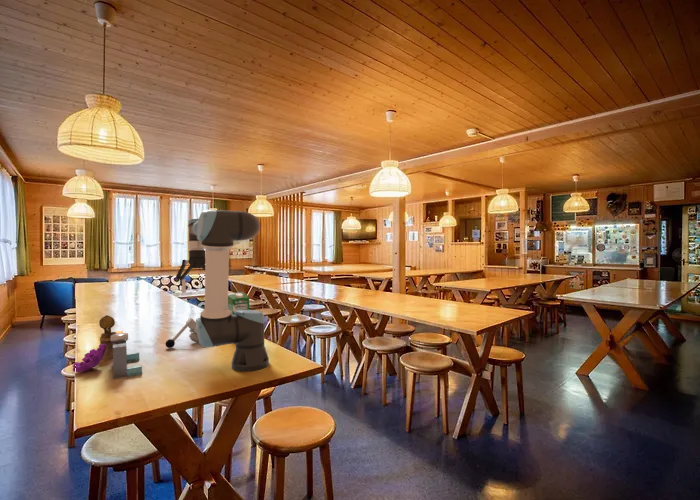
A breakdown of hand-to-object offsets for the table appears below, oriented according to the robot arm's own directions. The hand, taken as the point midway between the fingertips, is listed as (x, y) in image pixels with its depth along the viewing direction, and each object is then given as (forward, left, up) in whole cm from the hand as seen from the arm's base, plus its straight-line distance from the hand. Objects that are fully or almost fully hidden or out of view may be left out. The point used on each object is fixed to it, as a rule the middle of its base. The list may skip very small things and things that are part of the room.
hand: (198, 292), depth 180 cm
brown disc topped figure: (+7, +37, -27) cm, 47 cm away
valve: (+7, -1, -30) cm, 31 cm away
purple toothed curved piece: (-12, +44, -27) cm, 53 cm away
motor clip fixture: (-18, +31, -27) cm, 45 cm away
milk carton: (+1, -20, -27) cm, 34 cm away
